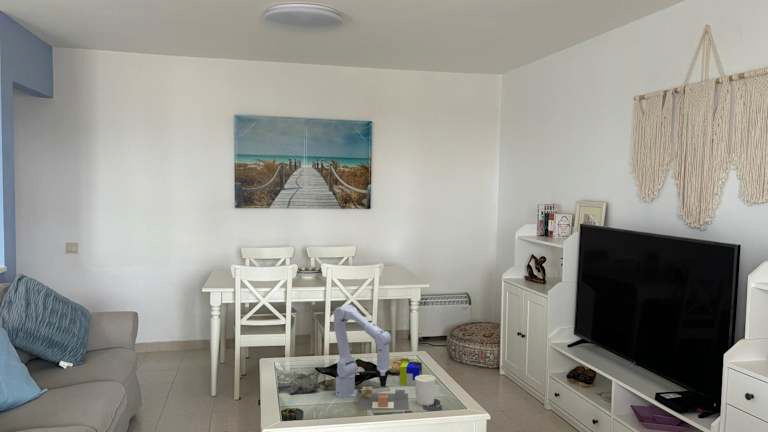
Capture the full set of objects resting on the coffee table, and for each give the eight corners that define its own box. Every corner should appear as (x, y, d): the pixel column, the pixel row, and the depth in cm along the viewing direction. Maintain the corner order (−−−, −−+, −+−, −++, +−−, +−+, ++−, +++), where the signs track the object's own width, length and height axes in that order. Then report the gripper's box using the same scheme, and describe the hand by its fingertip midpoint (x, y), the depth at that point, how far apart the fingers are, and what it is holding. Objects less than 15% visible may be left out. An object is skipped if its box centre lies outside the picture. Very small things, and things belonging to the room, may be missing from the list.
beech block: (362, 399, 280) (362, 389, 280) (362, 395, 285) (362, 386, 284) (371, 399, 280) (371, 389, 280) (371, 395, 284) (371, 386, 284)
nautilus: (422, 369, 330) (421, 379, 315) (385, 366, 332) (382, 375, 317) (423, 356, 329) (422, 365, 315) (385, 352, 332) (383, 361, 317)
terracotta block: (378, 407, 269) (378, 397, 269) (378, 403, 274) (378, 394, 274) (387, 407, 269) (387, 397, 269) (387, 403, 274) (387, 394, 274)
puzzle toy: (419, 387, 299) (419, 367, 299) (400, 385, 301) (400, 366, 301) (421, 380, 309) (421, 362, 308) (403, 379, 311) (403, 361, 310)
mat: (356, 410, 266) (356, 409, 266) (359, 393, 288) (359, 393, 288) (408, 410, 266) (408, 409, 266) (407, 394, 288) (407, 393, 288)
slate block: (395, 399, 280) (395, 390, 280) (395, 396, 284) (395, 386, 284) (404, 399, 280) (404, 390, 280) (404, 396, 284) (404, 387, 284)
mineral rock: (320, 391, 293) (320, 371, 292) (309, 398, 283) (309, 377, 282) (298, 387, 298) (298, 368, 297) (287, 394, 288) (286, 374, 287)
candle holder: (421, 407, 269) (421, 382, 269) (411, 401, 278) (411, 376, 277) (439, 404, 274) (439, 379, 273) (428, 398, 282) (428, 373, 282)
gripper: (391, 362, 267) (391, 391, 268) (391, 353, 282) (391, 381, 282) (376, 362, 267) (376, 391, 268) (377, 353, 282) (377, 381, 282)
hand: (383, 386), depth 275 cm, fingers closed
